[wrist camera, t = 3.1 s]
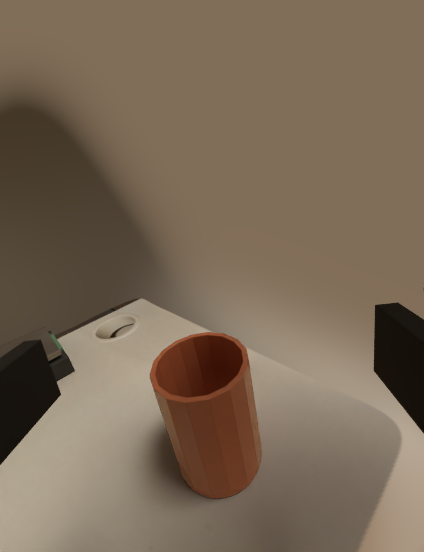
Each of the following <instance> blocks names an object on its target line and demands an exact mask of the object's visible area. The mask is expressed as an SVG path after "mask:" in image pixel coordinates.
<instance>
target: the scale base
mask: <svg viewBox="0 0 424 552" xmlns="http://www.w3.org/2000/svg"><path fill="white" fill-rule="evenodd" d="M48 333H49V334H50V336H51V337H52V339H53V340H54V342H55V343H56V345H57V346H58V348H59V349H60V351H61V353H62V355H60V356H58V357H56V358H54V359H52V360H50V361H49V363H50V366H51V368H52V371H53V374H54V377H55V379H56V381H58V380H59V379H61V378H63V377H65V376H66V375H68V374H70V373H72V372H74V371H75V370H74V368H73V366H72V364H71V361H70V359H69V357H68V356H67V354H66V353H65V351H64V350H63V348H62V346H61V345H60V343H59V342H58V341H57V339H56V338H55V336H54V335H53V334H52V333H51V331H48Z"/></svg>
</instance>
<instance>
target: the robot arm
mask: <svg viewBox="0 0 424 552" xmlns="http://www.w3.org/2000/svg"><path fill="white" fill-rule="evenodd" d="M374 372H375V373H376V374H377V375H378V377H379V378H380V379H381V380H382V381H383V383H384V384H385V385H386V387H387V388H388V389H389V390H390V391H391V393H392V394H393V395H394V397H395V398H396V399H397V400H398V402H399V403H400V404H401V405H402V406H403V408H404V409H405V410H406V412H407V413H408V414H409V415H410V417H411V418H412V419H413V420H414V422H415V423H416V424H417V426H418V427H419V428H420V429H421V430H422V432H423V433H424V320H423V319H422V318H420V317H419V316H417V315H416V314H414V313H413V312H411V311H410V310H408V309H407V308H405V307H403V306H402V305H401V304H399V303H390V304H381V305H375V339H374ZM60 395H61V393H60V390H59V388H58V385H57V382H56V379H55V377H54V374H53V371H52V368H51V366H50V363H49V360H48V358H47V355H46V352H45V349H44V347H43V344H42V341H41V339H40V340H30V341H24V342H22V343H21V344H19V345H18V346H16V347H15V348H13V349H12V350H11V351H9V352H8V353H6V354H5V355H3V356H2V357H1V358H0V465H1V463H2V462H3V461H4V460H5V459H6V458H7V456H8V455H9V454H10V453H11V452H12V451H13V449H14V448H15V447H16V446H17V445H18V444H19V443H20V441H21V440H22V439H23V438H24V437H25V436H26V434H27V433H28V432H29V431H30V430H31V429H32V427H33V426H34V425H35V424H36V423H37V422H38V421H39V419H40V418H41V417H42V416H43V415H44V414H45V412H46V411H47V410H48V409H49V408H50V407H51V405H52V404H53V403H54V402H55V401H56V400H57V399H58V397H59V396H60Z"/></svg>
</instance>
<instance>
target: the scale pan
mask: <svg viewBox="0 0 424 552" xmlns="http://www.w3.org/2000/svg"><path fill="white" fill-rule="evenodd" d="M40 339H41V341H42V344H43V347H44V349H45V352H46V355H47V358H48V360H49V361H50V360H52V359H54V358H56V357H58V356H60V355H62V353H61V351H60V349H59V348H58V346H57V345H56V343H55V342H54V340H53V339H52V337H51V336H50V334H49V333H48V331H47V330H46V329H45V327H42V328H40V329H37V330H35V331H33V332H30V333H28V334H26V335H24V336H21V337H19V338H17V339H15V340H12V341H10V342H8V343H6V344H3V345H1V346H0V358H1V357H2V356H3V355H5V354H6V353H8V352H9V351H11V350H12V349H13V348H15V347H16V346H18V345H19V344H21V343H22V342H24V341H30V340H40Z"/></svg>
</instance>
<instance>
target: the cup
mask: <svg viewBox="0 0 424 552" xmlns="http://www.w3.org/2000/svg"><path fill="white" fill-rule="evenodd" d="M150 379H151V383H152V386H153V389H154V392H155V395H156V398H157V401H158V404H159V407H160V410H161V413H162V416H163V419H164V422H165V425H166V428H167V431H168V434H169V437H170V440H171V443H172V446H173V449H174V452H175V455H176V458H177V461H178V464H179V467H180V470H181V473H182V476H183V478H184V479H185V481H186V483H187V484H188V485H189V487H190V488H192V489H193V490H194V491H195V492H197V493H198V494H200V495H202V496H205V497H209V498H216V499H217V498H226V497H230V496H233V495H235V494H237V493H239V492H240V491H242V490H243V489H245V488H246V487H247V486H248V485H249V484H250V483H251V481H252V480H253V479H254V477H255V476H256V474H257V472H258V469H259V466H260V463H261V456H262V448H261V441H260V434H259V427H258V420H257V413H256V407H255V400H254V393H253V386H252V379H251V373H250V366H249V360H248V355H247V350H246V348H245V347H244V346H243V345H242V344H241V343H240V342H239V341H238V340H237V339H235V338H233V337H231V336H228V335H226V334H222V333H211V332H207V333H200V334H194V335H190V336H188V337H185V338H182V339H180V340H177V341H175V342H174V343H173V344H171V345H170V346H168V347H167V348H165V349H164V350H163V351H162V352H161V353H160V354H159V356H158V357H157V358H156V359H155V361H154V362H153V365H152V369H151V372H150Z"/></svg>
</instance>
